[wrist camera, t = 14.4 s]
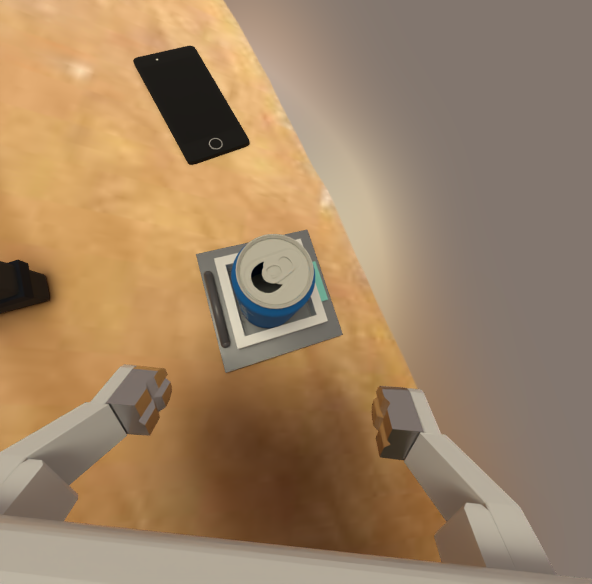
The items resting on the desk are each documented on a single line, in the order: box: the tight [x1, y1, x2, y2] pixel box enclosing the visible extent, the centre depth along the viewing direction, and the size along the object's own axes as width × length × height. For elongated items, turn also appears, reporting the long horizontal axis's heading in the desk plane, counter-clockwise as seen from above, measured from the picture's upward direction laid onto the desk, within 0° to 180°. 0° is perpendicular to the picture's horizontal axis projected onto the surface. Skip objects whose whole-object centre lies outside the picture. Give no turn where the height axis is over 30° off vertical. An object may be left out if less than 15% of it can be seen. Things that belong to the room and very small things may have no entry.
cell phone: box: [133, 46, 249, 165], centre depth 35 cm, size 9×18×1 cm, turn 29°
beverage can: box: [231, 234, 315, 328], centre depth 24 cm, size 6×6×12 cm
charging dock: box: [196, 230, 343, 373], centre depth 29 cm, size 14×14×3 cm
